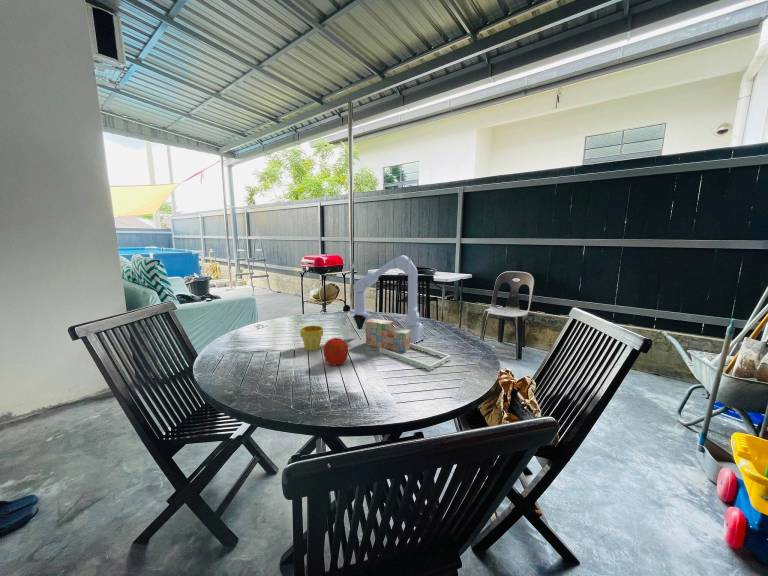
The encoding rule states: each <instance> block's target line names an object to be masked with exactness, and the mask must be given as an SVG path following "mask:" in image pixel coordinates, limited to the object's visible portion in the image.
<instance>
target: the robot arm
mask: <svg viewBox="0 0 768 576" xmlns="http://www.w3.org/2000/svg"><path fill="white" fill-rule="evenodd" d="M391 269H392V270H395V269H399V270H401V271H403V272H404V273H405V274H406V275H407V314H406V316H405V325H404V326H405V327H404V329H407V330H411V335H410V343H413V344H414V343H415V344H417V343H416V342H418V341H419V340H421V339H424V325H423V324H422V323H421V322H419V318H420V312H419V310H418V309H419V308H418V273H419V272H418V269H417V267H416V266H415V264H414V263H413V261H412V258H410V257H409V256H407V255H405V254H402V255H399V256H396V257H395V258H393V259H391V260H390V261H388V262H386V263H385V264H384V265H382V266H381V267H380V268H378V269H377V270H376V271H368V272H367V273H366V275H364V276H363V277H360V278H359V279H358V280H357V281H355V282H354V284H353V286H352V288H353V290H354V300H353V301H354V303H353V305H354V309H349V314H353V317H352V318H353V319H354V322H355V324H356V328H357V330H362V329H363V327H364V323H365V322H366V319H372V314H371V313H369V312H368V311H366V308H367V307H366V301H367V300H366V289H367V288H370V287H371V286H373V285H374V284H375V283H377V282H378V280H379V277H381V276H382V275H383V274H385V273H387V272H388V271H390V270H391ZM418 343H419V342H418Z"/></svg>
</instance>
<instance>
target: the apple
mask: <svg viewBox="0 0 768 576" xmlns="http://www.w3.org/2000/svg"><path fill="white" fill-rule="evenodd" d="M348 355H349V346H348V344H347V342H346V341H345V340H344V339H342V338H339V337H333V338H330V339H329V340H327V341H326V342H325V344H324V346H323V357H324V360H325V362H326V363H328V364H329V365H331V366H339V365H342V364H343V363H344V362H346V361H347V359H348Z"/></svg>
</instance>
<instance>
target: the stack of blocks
mask: <svg viewBox="0 0 768 576" xmlns="http://www.w3.org/2000/svg"><path fill="white" fill-rule="evenodd" d="M410 335H411V330H407V329H405V328H401V327H394V321H393V320H386V319H378V318H372V317H371V318H368V319H367V320H365V345H366V344H367V345H366V346H370V345H372V346H371V347H375V346H377V347H376V348H379V347H381V348H384V349H385V348H388V349H387V350H390V349H393V350H392V351H396V350H397V351H396V352H401V351H402V353H406V352H407V351H408V349H409V348H410ZM410 349H411V348H410ZM410 349H409V350H410Z"/></svg>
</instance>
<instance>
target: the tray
mask: <svg viewBox="0 0 768 576" xmlns="http://www.w3.org/2000/svg"><path fill="white" fill-rule="evenodd" d="M410 347H413V348H416V349H419V350H418V351H420V350H423V351H426V352H430V353H433V354H436V355H439V356H443V357H445V358H440V359H439V360H438V361H435V362H434V363H433V362H432V363H431V364H428V363H426V362H422V361H420V360H417V359H414V358H411V357H409V356H406V355H403V354H400V353H397V352H396V351H395V352H394V351H393V350H392V351H391V350H390V349H385V348H381V347H380V348H379V347H378V352H379V353H381V354H383V353H384V355H386V354H387V355H386V356H389V355H390V356H389V357H391V356H392V357H391V358H394V357H395V359H397V358H398V360H400V361H402V360H403V362H405V361H406V362H405V363H408V362H409V363H408V364H410V363H412V364H411V365H413V364H414V365H413V366H416V365H417V366H416V367H418V366H420V367H419V368H421V367H423V368H422V369H424V368H426V369H429V370H431V369H433V368H434V367H436V366H438V365H440V364H441V363H443V362H445V361H447V360H449V359H451V360H452V355H451V354H448V353H444V352H441V351H438V350H435V349H431V348H429V347H425V346H422V345H419V344H417V343H415V344H413V343H410ZM413 348H412V349H413ZM416 349H415V350H416ZM423 351H422V352H423ZM426 352H425V353H426ZM440 366H441V365H440ZM426 369H425V370H426ZM429 370H428V371H429ZM433 370H434V369H433ZM431 371H432V370H431Z"/></svg>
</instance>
